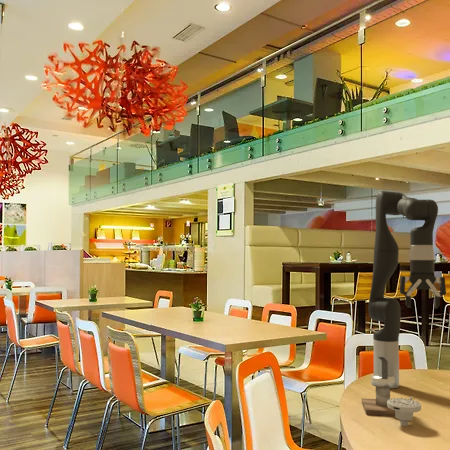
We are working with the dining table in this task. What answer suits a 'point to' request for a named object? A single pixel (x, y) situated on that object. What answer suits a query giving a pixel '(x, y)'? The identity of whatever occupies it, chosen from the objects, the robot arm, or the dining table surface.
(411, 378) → the dining table surface
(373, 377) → the knob
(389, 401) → the showerhead
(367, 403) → the post base
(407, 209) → the robot arm
